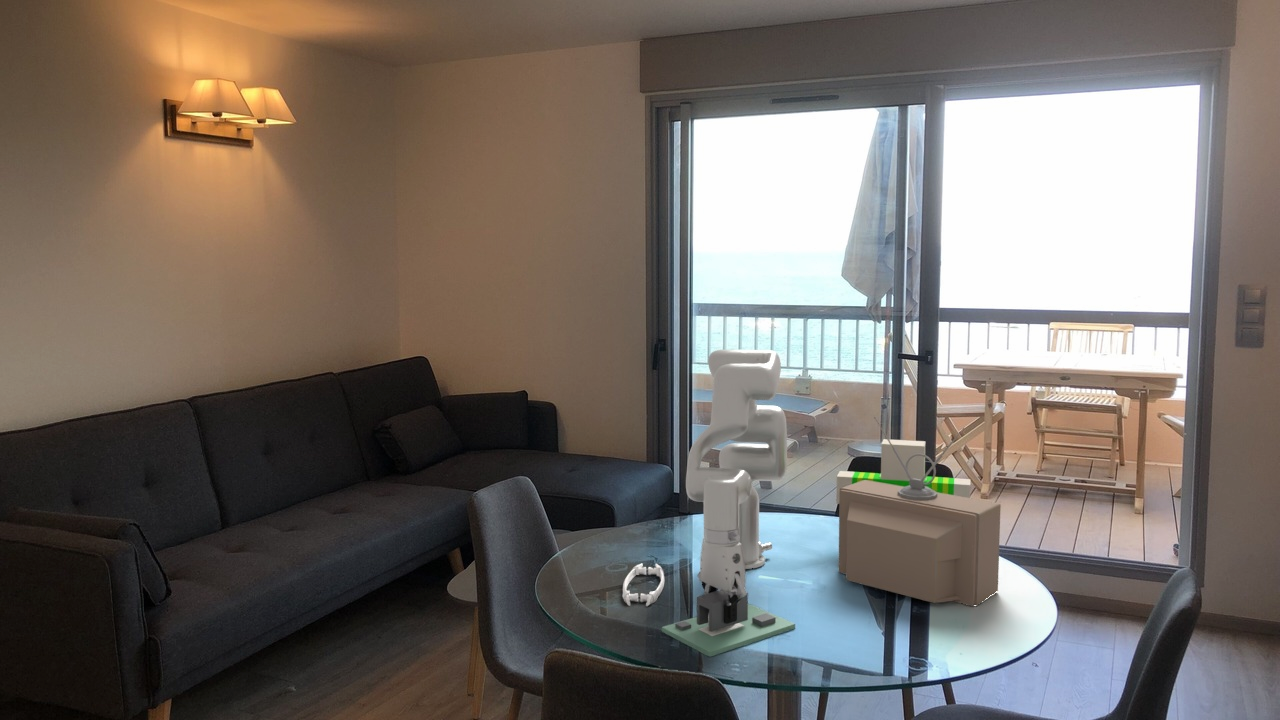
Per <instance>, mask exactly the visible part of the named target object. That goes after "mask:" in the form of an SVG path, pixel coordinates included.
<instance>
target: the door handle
mask: <svg viewBox="0 0 1280 720" xmlns="http://www.w3.org/2000/svg"><path fill="white" fill-rule="evenodd" d="M647 574H648V576H652V575H656V577H659V579H660V582H659V584H658V586H657V587H656V589H655V590H654V591H649V594H648V592H645V593H640V596H639V593H636V592H635V593H631V591H630V590H627V588H628V585H629V584H630V582H631V581H632V580H633V579H634V578H635V577H636V575H644V576H646V575H647ZM664 586H665V575H664V570H663V568H662V567H661V565H659V564H658V563H655V566H653V567H651V566H648V568H647V567H646V566H644V565H643V563H639V564H636V565H635V566H633V567H632V569H631V570H630V572H629V573H628V574H627V576H626V577H625V579H624V580H623V584H622V599H623V601H624V602H625V604H627V606H629V607H630V606H631V602H635V603H638V602H639V599H640V603H644V602H646V603H645V607H648V606H650V605H651V604H654V603H656V602H657V600H658V597H660V595H661V593H662V592H663V589H664Z"/></svg>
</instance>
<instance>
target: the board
mask: <svg viewBox="0 0 1280 720" xmlns="http://www.w3.org/2000/svg"><path fill="white" fill-rule="evenodd" d="M795 629H796V623H794V622H793V621H789V620H788V619H785V618H783V617H781V616H778V615H776V614H774V613H771V612H769V611H767V610H764V609H762V608H761V607H757V606H755V605H753V604H750V603H748V620H746V621H743V622H740V623H737V624H735V625H730V626H727V627H724V628H721V629H718V630H715V631H713V632H709V631H708V623H705V624H702V625H698V624H697V616H695V617H690V618H689V619H688V618H687V619H684V620H682V621H677V622H675V623H672V624H671V623H670V624H667V625H665V626H662V627H661V632H662V633H664V634H665V635H667V636H670V637H672V638H673V639H674V640H677V641H678V642H681V643H682V644H685V645H687V646H688V647H690V648H692V649H694V650H695V651H698V652H699V653H702V654H703V655H705V656H708V657H709V658H710V657H714V656H716V655H720V654H722V653H725V652H729V651H732V650H734V649H737V648H740V647H744V646H746V645H749V644H752V643H755V642H758V641H759V642H760V641H762V640H764V639H767V638H771V637H774V636H776V635H779V634H783V633H786V632H789V631H791V630H795Z"/></svg>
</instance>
